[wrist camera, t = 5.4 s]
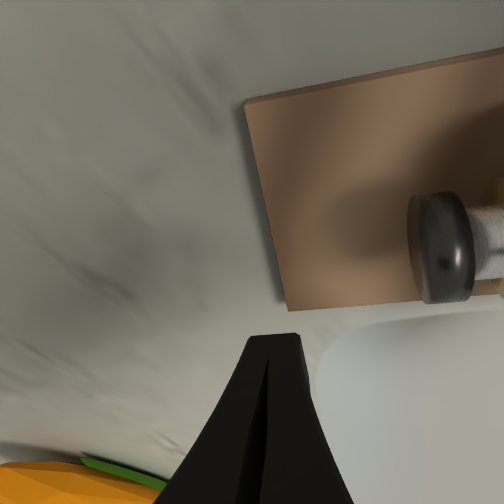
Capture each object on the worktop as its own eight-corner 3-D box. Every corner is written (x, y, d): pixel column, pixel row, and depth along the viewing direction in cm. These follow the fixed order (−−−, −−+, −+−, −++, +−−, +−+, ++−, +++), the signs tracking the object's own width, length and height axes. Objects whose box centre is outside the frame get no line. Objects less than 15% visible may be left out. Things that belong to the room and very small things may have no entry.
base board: (739, 0, 13) (769, 1, 12) (630, 267, 19) (645, 281, 18) (246, 99, 16) (243, 105, 15) (288, 299, 22) (288, 311, 21)
